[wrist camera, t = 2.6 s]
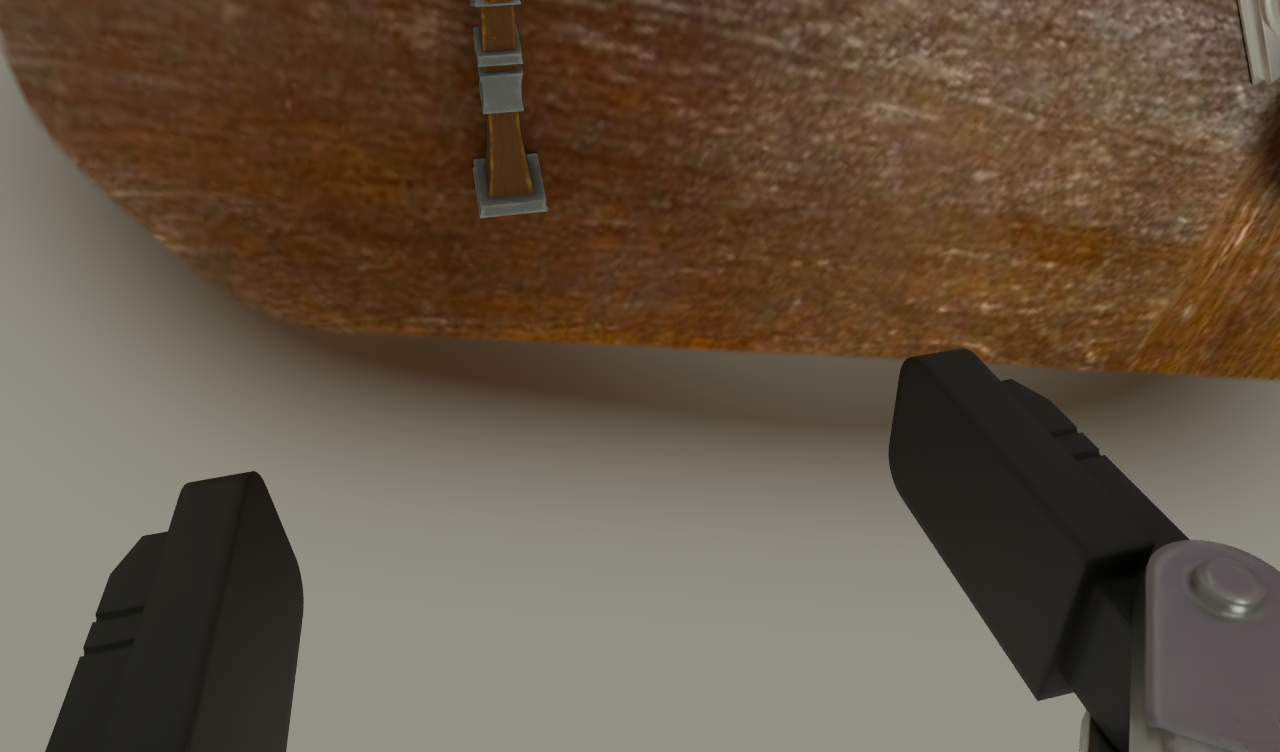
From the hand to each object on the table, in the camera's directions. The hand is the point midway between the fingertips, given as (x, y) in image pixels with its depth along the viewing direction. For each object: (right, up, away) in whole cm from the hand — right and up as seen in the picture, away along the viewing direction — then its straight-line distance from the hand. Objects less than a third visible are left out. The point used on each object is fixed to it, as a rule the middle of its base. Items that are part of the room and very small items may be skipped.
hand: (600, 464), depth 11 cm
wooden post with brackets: (-3, +10, +11) cm, 15 cm away
